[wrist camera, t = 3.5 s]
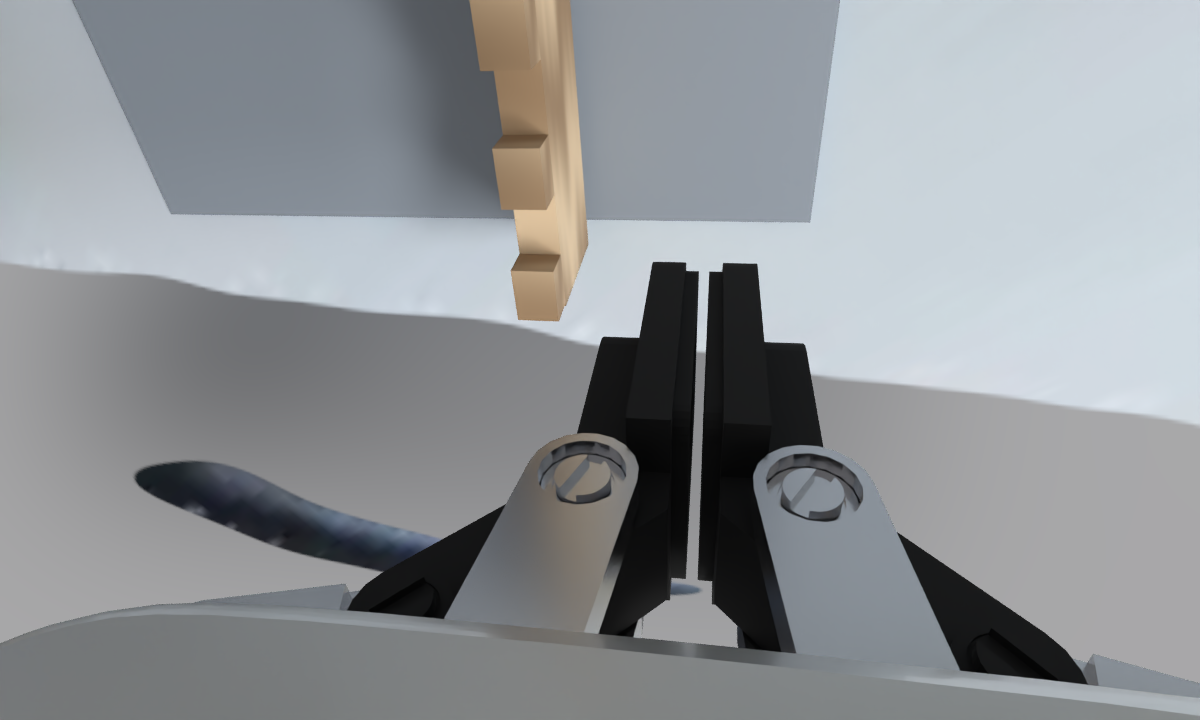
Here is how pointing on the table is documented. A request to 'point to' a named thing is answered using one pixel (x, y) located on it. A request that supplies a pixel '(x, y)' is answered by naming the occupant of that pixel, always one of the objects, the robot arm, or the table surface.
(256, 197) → the card
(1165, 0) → the table surface
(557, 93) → the hinged fence panel
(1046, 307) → the table surface
